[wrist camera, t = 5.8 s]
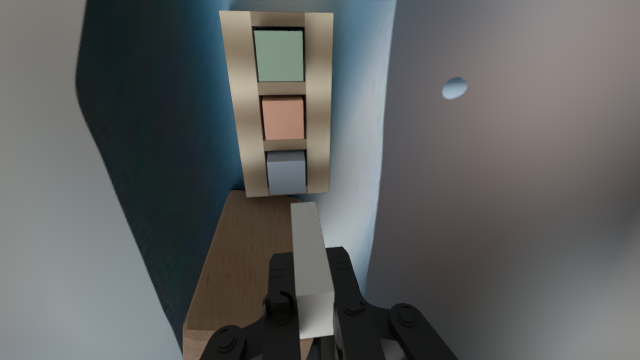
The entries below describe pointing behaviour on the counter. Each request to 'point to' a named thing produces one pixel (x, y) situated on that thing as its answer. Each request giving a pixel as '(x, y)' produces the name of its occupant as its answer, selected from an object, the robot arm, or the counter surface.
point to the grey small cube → (286, 171)
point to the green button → (279, 55)
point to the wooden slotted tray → (250, 92)
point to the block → (239, 268)
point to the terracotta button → (283, 117)
